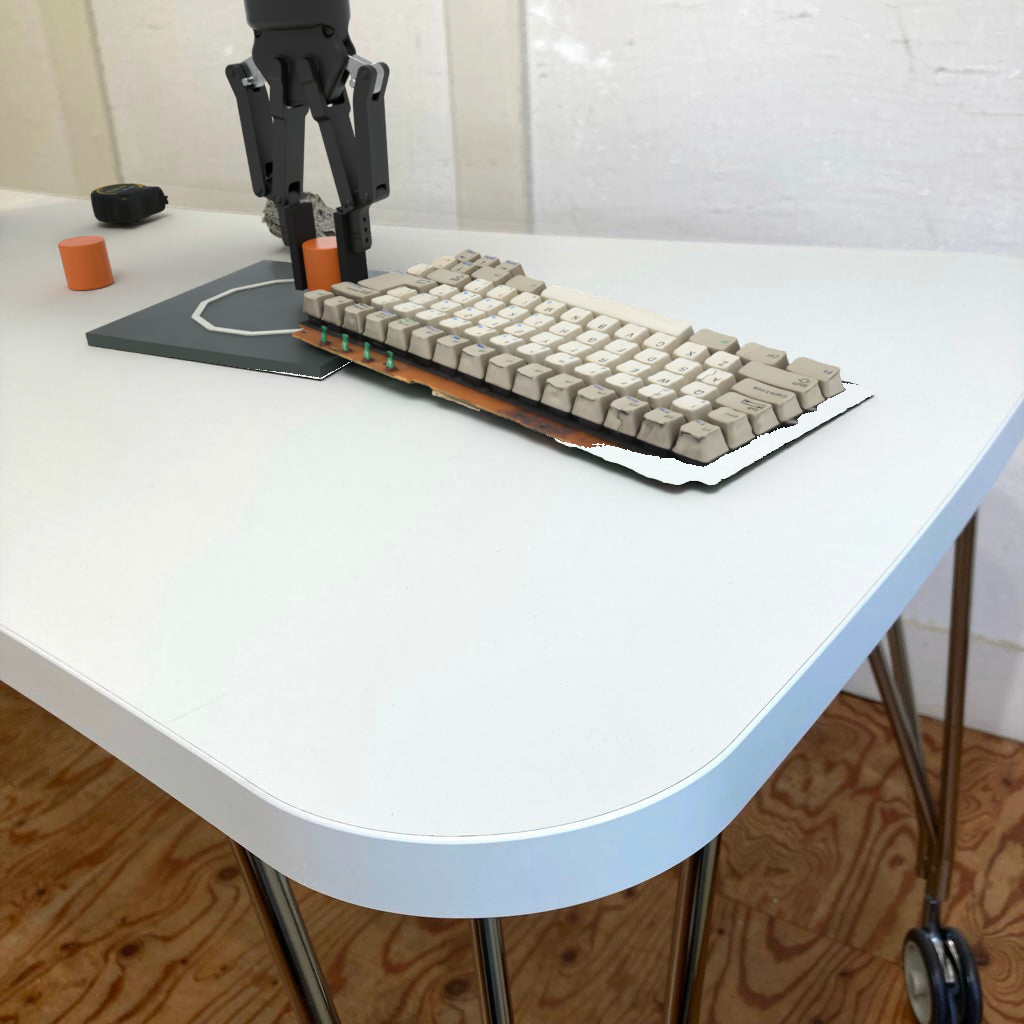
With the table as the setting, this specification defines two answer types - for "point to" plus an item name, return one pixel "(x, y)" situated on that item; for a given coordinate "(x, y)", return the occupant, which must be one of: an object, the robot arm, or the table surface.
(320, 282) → the short orange drum
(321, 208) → the rock sample
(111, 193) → the tape measure
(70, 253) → the orange cylinder
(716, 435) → the mechanical keyboard
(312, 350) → the slate board
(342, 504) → the table surface
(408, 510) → the table surface
